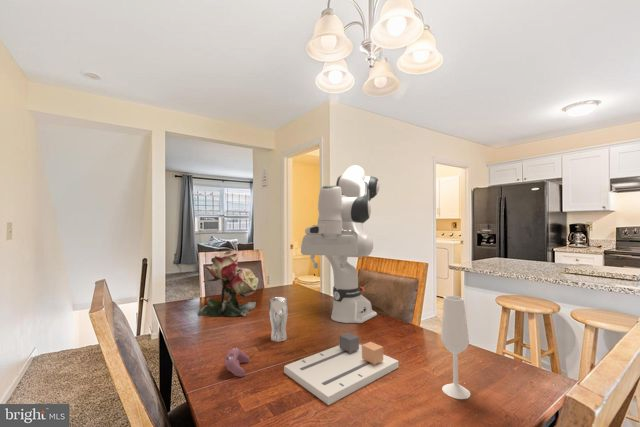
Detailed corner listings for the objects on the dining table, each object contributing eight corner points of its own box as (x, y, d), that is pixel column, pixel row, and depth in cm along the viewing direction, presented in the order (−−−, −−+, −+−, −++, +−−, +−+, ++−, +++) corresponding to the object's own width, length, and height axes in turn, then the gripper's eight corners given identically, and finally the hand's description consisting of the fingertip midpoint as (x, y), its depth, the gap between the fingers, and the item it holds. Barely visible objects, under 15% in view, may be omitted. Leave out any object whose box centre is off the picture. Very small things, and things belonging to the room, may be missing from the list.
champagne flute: (462, 383, 79) (459, 294, 80) (476, 398, 72) (473, 301, 73) (437, 384, 79) (435, 294, 79) (449, 399, 72) (446, 301, 73)
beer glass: (284, 342, 107) (284, 301, 108) (266, 341, 109) (266, 301, 109) (290, 335, 114) (289, 297, 114) (273, 334, 115) (273, 296, 116)
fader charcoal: (348, 344, 99) (348, 332, 99) (358, 349, 95) (358, 336, 95) (339, 347, 97) (339, 335, 97) (350, 352, 93) (350, 340, 93)
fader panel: (351, 346, 104) (351, 340, 104) (398, 367, 88) (398, 360, 88) (284, 372, 86) (284, 365, 86) (328, 405, 70) (328, 396, 70)
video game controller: (238, 367, 93) (227, 347, 93) (251, 359, 93) (240, 340, 93) (231, 384, 83) (219, 362, 83) (245, 376, 84) (234, 354, 83)
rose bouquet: (254, 317, 137) (254, 253, 138) (193, 317, 138) (193, 254, 139) (265, 302, 163) (265, 248, 164) (213, 302, 163) (213, 249, 164)
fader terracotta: (370, 354, 91) (370, 341, 92) (383, 360, 88) (383, 346, 88) (361, 358, 89) (361, 345, 89) (374, 364, 85) (374, 350, 85)
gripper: (355, 230, 109) (355, 267, 108) (301, 228, 107) (299, 267, 105) (360, 230, 103) (359, 269, 102) (302, 228, 100) (300, 268, 99)
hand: (328, 268), depth 104 cm, fingers open, 8 cm apart
